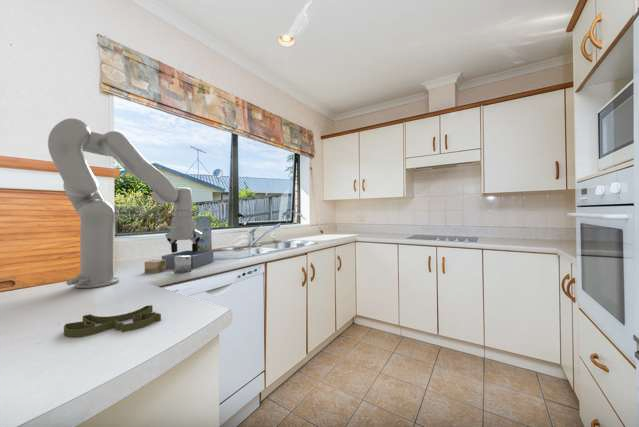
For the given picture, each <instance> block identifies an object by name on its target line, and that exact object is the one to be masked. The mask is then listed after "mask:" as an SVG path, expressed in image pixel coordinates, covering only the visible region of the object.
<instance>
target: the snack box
mask: <svg viewBox="0 0 639 427" xmlns="http://www.w3.org/2000/svg"><path fill="white" fill-rule="evenodd" d="M195 225H196V230H197V231H199V232H201V233H203V235H202V238H201V240H200V241H199V242H198V250H197V251H213V249H212V248H213V247H212V246H213V244H212V216H211V215H208V214H207V215H205V214H203V215H195ZM196 238H198V235H197V234H196Z"/></svg>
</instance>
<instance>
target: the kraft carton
mask: <svg viewBox="0 0 639 427" xmlns="http://www.w3.org/2000/svg"><path fill="white" fill-rule="evenodd" d="M164 271H167V268H166V260H162V259H151V260H148V261H144V273H145V274H148V273H149V274H158V273H162V272H164Z"/></svg>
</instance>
